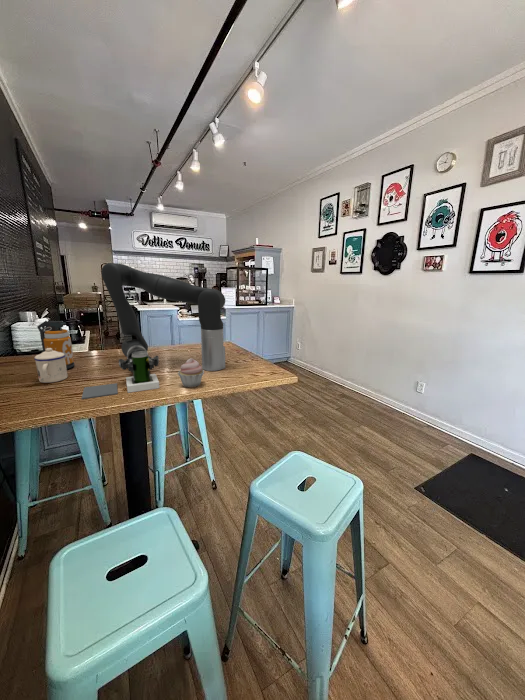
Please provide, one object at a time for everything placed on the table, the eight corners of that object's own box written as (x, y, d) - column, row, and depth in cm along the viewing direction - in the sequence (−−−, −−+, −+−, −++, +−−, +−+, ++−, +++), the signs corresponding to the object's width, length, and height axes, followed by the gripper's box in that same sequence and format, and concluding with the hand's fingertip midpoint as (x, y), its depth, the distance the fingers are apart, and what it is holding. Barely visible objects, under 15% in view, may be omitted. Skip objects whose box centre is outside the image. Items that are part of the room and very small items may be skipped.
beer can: (135, 389, 97) (132, 355, 94) (133, 384, 101) (130, 352, 98) (152, 386, 100) (149, 353, 97) (148, 381, 104) (146, 350, 101)
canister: (65, 371, 113) (57, 322, 108) (37, 371, 113) (28, 321, 108) (79, 365, 122) (73, 319, 117) (54, 364, 122) (46, 318, 117)
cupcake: (191, 391, 96) (190, 363, 94) (172, 385, 101) (171, 358, 99) (210, 383, 104) (209, 357, 101) (192, 378, 109) (191, 353, 106)
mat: (117, 384, 101) (117, 383, 101) (117, 394, 92) (117, 393, 92) (84, 388, 97) (84, 387, 96) (81, 399, 88) (81, 398, 88)
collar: (155, 379, 107) (155, 373, 106) (159, 388, 98) (159, 382, 98) (126, 383, 102) (125, 377, 102) (127, 392, 94) (127, 386, 93)
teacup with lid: (43, 376, 108) (38, 346, 105) (71, 374, 111) (67, 345, 108) (30, 387, 97) (24, 354, 94) (61, 384, 100) (56, 352, 97)
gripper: (116, 348, 107) (117, 359, 92) (156, 345, 113) (163, 355, 99) (118, 367, 109) (119, 381, 94) (157, 363, 115) (164, 375, 100)
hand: (141, 368), depth 96 cm, fingers closed on beer can, 5 cm apart
